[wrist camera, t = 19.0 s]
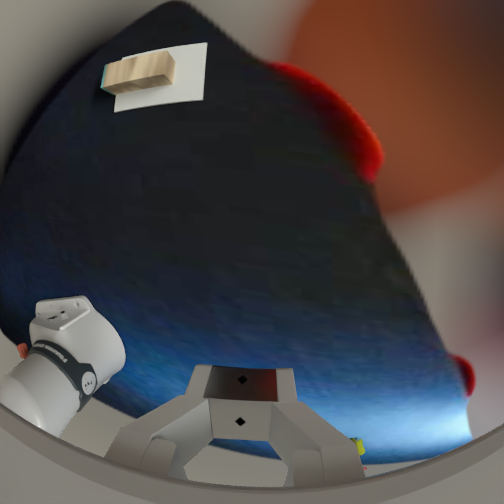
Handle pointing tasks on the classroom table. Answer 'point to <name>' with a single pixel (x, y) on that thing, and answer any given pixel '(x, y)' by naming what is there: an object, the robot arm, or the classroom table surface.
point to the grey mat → (184, 84)
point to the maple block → (139, 73)
